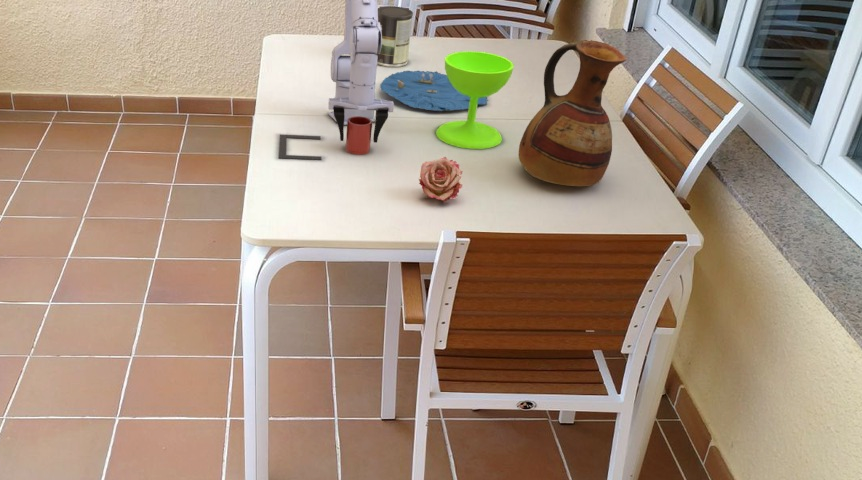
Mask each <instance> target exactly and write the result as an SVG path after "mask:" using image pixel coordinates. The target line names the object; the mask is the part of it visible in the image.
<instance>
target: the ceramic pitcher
mask: <svg viewBox="0 0 862 480" xmlns="http://www.w3.org/2000/svg"><path fill="white" fill-rule="evenodd" d="M569 51H575V52H576V53H578V57H579V71H578V74H577V76H576V79H575V81H574V83H573V85H572V87H571V89H570V90H569V91H568V92H567V93H566V94H563V95H558V94H557V93H556V91H555V71H556V67H557V65H558V63H559V62H560V60H561V59H562V57H563V56H564V55H565V54H566V53H567V52H569ZM626 60H627V57H626V56H625V55H624V54H623V53H621V52H620V50H619V49H617V48H616V47H614V46H612V45H610V44H608V43H606V42H602V41H598V40H592V39H590V40H587V39H583V40H582V39H581V40H578V41H576V42H570V43H567V44H563V45H562V46H559V48H557V49H556V50H555V51H554V52H553V53H552V55H551V56H550V58H549V60H548V62H547V63H546V66H545V68H544V73H543V90H544V103H543V106H542V107H541V108H540V109H539V111H537V112H536V113H535V115H534V116H533V118H531V120H530V121H529V123H528V124H527V125H526V128H525V130H524V132H523V134H522V137H521V139H520V142H519V145H518V161H519V163H520V164H521V166H522V167H523V168H524V169H525V171H526V172H527V173H528V174H529V175H530V176H532V177H534V178H536V179H538V180H540V181H542V182H547V183H551V184H555V185H560V186H561V185H562V186H567V187H569V186H570V187H585V186H587V187H589V186H594V185H596V184H598V183H600V182H601V180H602V179H603V178H604V175H605V174H606V171H607V170H608V167H609V164H610V161H611V157H612V152H613V129H612V124H611V121H610V117H609V115H608V114H607V112H606V110H605V109H604V108H603V106H602V98H603V97H602V96H603V91H604V88H605V87H606V85H607V83H608V80H609V77H610V74H611V72H612V71H613V70H614V69H615V68H616V67H617V66H619V65H621V64H623V63H625V62H626Z"/></svg>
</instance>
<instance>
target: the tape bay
mask: <svg viewBox="0 0 862 480" xmlns="http://www.w3.org/2000/svg"><path fill="white" fill-rule="evenodd" d="M287 139H296V140H297V139H299V140H300V139H301V140H319V141H320V140H321V139H322V138H321V135H304V134H303V135H301V134H300V135H299V134H279V143H278V145H279V146H278V159H280V160H281V159H282V160H283V159H284V160H305V161H307V160H309V161H322V156H317V155H316V156H315V155H292V154H291V155H290V154H287Z"/></svg>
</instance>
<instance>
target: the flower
mask: <svg viewBox="0 0 862 480" xmlns="http://www.w3.org/2000/svg"><path fill="white" fill-rule="evenodd" d="M462 174H463V170H461V169H460V164H459V163H457V161H456V160H453V159H450V160H449V159H448V158H447V156H444V157H442V158H441V157H440V158H438V159H435V160H432V161H425V162H423V163H422V165H421V167H420V175H419V178H418V181H419V183H418V184H419V185H420V186H421V189H422V192H423V194H424V195H425V196H426V197H424V198H423V199H424V200H425V199H427V198H430V199H434V198H435V200H439V201H442V202H443V203H446V202H447V201H448V200H450V199H452V200H453V199H456V198H457V197H459V194H458V193H459V192H460V190H461V189H462V188H463V184H462V183H461V181H460V180H461V179H462Z"/></svg>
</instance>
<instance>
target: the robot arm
mask: <svg viewBox="0 0 862 480" xmlns="http://www.w3.org/2000/svg"><path fill="white" fill-rule="evenodd" d="M344 5H345V7H344V8H345V9H344V10H345V11H344V35H343V40H342V41H341V42H340V43H338V44H337V45H335V46H334V47H333V48H332V51H331V57H330V80H331V81H332V82H333V83H335V95H334V97H333V98H330V97H329V98H328V110H330V111H328V112H327V115H328V116H329V117H330V118H332V119H333V121H335V122H336V124H337V128H338V131H339V139H340V141H339V142H344V138H345V137H344V136H345V135H344V133H345V130H344V127H345V126H347V120H348V119H349V118H350V117H355V116H361V117H366V118H369V119H371V120H372V123H375V124H374V129H373V140H372V141H373V143H378V140H379V139H378V138H379V136H380V133H381V131H382V128H383V126H384V125H385V123H386V122H387V120H388V118H389V113H394V106H395V105H394V104H395V103H394V100H386V99H379V98H376V83H377V82H376V80H377V69H378V64H377V59H378V55H377V51H378V54H380V51H381V46H382V32H381V27H380V22H378V8H379V7H378V0H345V4H344ZM331 110H332V111H331Z"/></svg>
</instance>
